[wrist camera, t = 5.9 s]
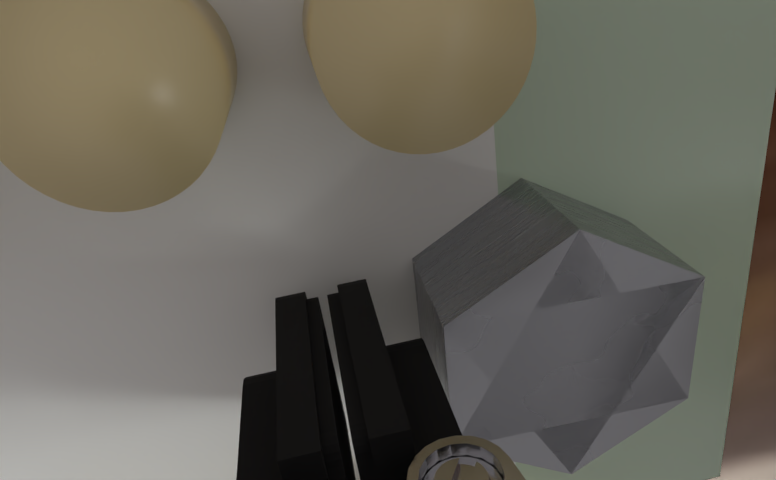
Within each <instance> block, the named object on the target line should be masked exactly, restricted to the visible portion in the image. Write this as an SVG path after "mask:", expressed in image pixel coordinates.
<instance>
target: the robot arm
mask: <svg viewBox="0 0 776 480" xmlns="http://www.w3.org/2000/svg"><path fill="white" fill-rule="evenodd" d="M337 287H338V293H334V294H329V295H327V298H328V304H329V310H330V315H331V321H332V327H333V333H334V339H335V345H336V351H337V357H338V363H339V369H340V375H341V380H342V386H343V392H344V398H345V404H346V410H347V416H348V422H349V428H350V433H351V438H352V444H353V449H354V453H355V458H356V463H357V467H358V472H359V476H360V480H526V479H525V478H524V476H523V475H522V474H521V472H520V471H519V469H518V468H517V467H516V465H515V464H514V462H513V461H512V460H511V458H510V457H509V456H508V455H507V454H506V453H505V452H504V451H503V450H502V449H501V448H500V447H499V446H497V445H495V444H494V443H492V442H490V441H488V440H486V439H483V438H478V437H474V436H462V433H461V431H460V428H459V426H458V423H457V421H456V419H455V416H454V414H453V411H452V409H451V406H450V404H449V401H448V399H447V396H446V394H445V391H444V389H443V386H442V384H441V382H440V379H439V377H438V374H437V372H436V369H435V367H434V364H433V362H432V359H431V357H430V354H429V352H428V350H427V347H426V345H425V342H424V340H423V339H422V338H418V339H414V340H409V341H405V342H400V343H396V344H392V345H387V346H386V345H385V341H384V338H383V335H382V331H381V328H380V325H379V321H378V318H377V315H376V311H375V308H374V305H373V301H372V298H371V295H370V291H369V288H368V285H367V281H366V279H362V280H357V281H353V282H348V283H343V284H339V285H337ZM275 325H276V371H271V372H267V373H262V374H258V375H254V376H249V377H245V378H244V380H243V388H242V403H241V418H240V433H239V448H238V463H237V477H236V480H356V478H355V472H354V466H353V459H352V453H351V447H350V441H349V435H348V429H347V423H346V418H345V413H344V409H343V404H342V400H341V395H340V391H339V386H338V382H337V378H336V373H335V369H334V364H333V360H332V356H331V351H330V347H329V342H328V338H327V333H326V329H325V325H324V320H323V316H322V311H321V307H320V303H319V299H318V297H315V298H310V299H307V296H306V293H305V292H301V293H296V294H292V295H287V296H282V297H277V298H275Z"/></svg>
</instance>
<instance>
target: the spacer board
mask: <svg viewBox="0 0 776 480" xmlns="http://www.w3.org/2000/svg"><path fill="white" fill-rule="evenodd" d="M775 89H776V0H0V480H236V477H237V463H238V448H239V433H240V418H241V403H242V388H243V380H244V378H245V377H249V376H254V375H258V374H262V373H267V372H271V371H276V325H275V298H277V297H282V296H287V295H292V294H296V293H301V292H305V293H306V296H307V299H310V298H315V297H318V299H319V303H320V307H321V311H322V316H323V320H324V325H325V329H326V333H327V338H328V342H329V347H330V351H331V356H332V360H333V364H334V369H335V373H336V378H337V382H338V386H339V391H340V395H341V400H342V404H343V409H344V413H345V418H346V423H347V429H348V435H349V441H350V447H351V453H352V459H353V466H354V472H355V478H356V480H360V476H359V472H358V467H357V463H356V458H355V453H354V449H353V444H352V438H351V433H350V428H349V422H348V416H347V410H346V404H345V398H344V392H343V386H342V380H341V375H340V369H339V363H338V357H337V351H336V345H335V339H334V333H333V327H332V321H331V315H330V310H329V304H328V298H327V295H329V294H334V293H338V287H337V285H339V284H343V283H348V282H353V281H357V280H362V279H366V281H367V285H368V288H369V291H370V295H371V298H372V301H373V305H374V308H375V311H376V315H377V318H378V321H379V325H380V328H381V331H382V335H383V338H384V341H385V345H386V346H387V345H392V344H396V343H400V342H405V341H409V340H414V339H418V338H420V330H419V320H418V310H417V301H416V291H415V281H414V272H413V262H412V258H414V257H415V256H416V255H418V254H419V253H420V252H422V251H423V250H424V249H426V248H427V247H428V246H430V245H431V244H432V243H434V242H435V241H437V240H438V239H439V238H441V237H442V236H443V235H445V234H446V233H447V232H449V231H450V230H451V229H453V228H454V227H456V226H457V225H458V224H460V223H461V222H462V221H464V220H465V219H466V218H468V217H469V216H470V215H472V214H473V213H474V212H476V211H477V210H479V209H480V208H481V207H483V206H484V205H485V204H487V203H488V202H489V201H491V200H492V199H493V198H495V197H496V196H497V195H499V194H500V193H502V192H503V191H504V190H506V189H507V188H508V187H510V186H511V185H512V184H514V183H515V182H516V181H518V180H519V179H521V178H523V179H525V180H528V181H530V182H533V183H535V184H538V185H540V186H543V187H545V188H548V189H550V190H553V191H556V192H558V193H561V194H563V195H566V196H568V197H571V198H573V199H576V200H578V201H581V202H583V203H586V204H588V205H591V206H593V207H596V208H598V209H601V210H603V211H606V212H608V213H611V214H613V215H616V216H618V217H621V218H623V219H626V220H628V221H630V222H631V223H632V224H634V225H635V226H636V227H638V228H639V229H640V230H642V231H643V232H645V233H646V234H647V235H649V236H650V237H651V238H653V239H654V240H655V241H657V242H658V243H660V244H661V245H662V246H664V247H665V248H666V249H668V250H669V251H670V252H672V253H673V254H675V255H676V256H677V257H679V258H680V259H681V260H683V261H684V262H685V263H687V264H688V265H690V266H691V267H692V268H694V269H695V270H696V271H698V272H699V273H701V274H702V275H703V276H705V282H704V289H703V296H702V303H701V310H700V317H699V324H698V331H697V339H696V346H695V353H694V360H693V367H692V374H691V381H690V388H689V395H688V399H686V400H685V401H683V402H681V403H680V404H678V405H677V406H675V407H674V408H672V409H671V410H669V411H668V412H666V413H665V414H663V415H662V416H660V417H658V418H657V419H655V420H654V421H652V422H651V423H649V424H648V425H646V426H645V427H643V428H642V429H640V430H639V431H637V432H636V433H634V434H632V435H631V436H629V437H628V438H626V439H625V440H623V441H622V442H620V443H619V444H617V445H616V446H614V447H613V448H611V449H610V450H608V451H606V452H605V453H603V454H602V455H600V456H599V457H597V458H596V459H594V460H593V461H591V462H590V463H588V464H587V465H585V466H583V467H582V468H580V469H579V470H577V471H576V472H574V473H573V474H568V473H563V472H559V471H554V470H550V469H545V468H541V467H536V466H532V465H527V464H523V463H518V462H514V461H513V462H514V464H515V465H516V467H517V468H518V469H519V471H520V472H521V474H522V475H523V476H524V478H525V479H526V480H707V479H711V478H715V477H719V476H720V471H721V464H722V457H723V450H724V443H725V436H726V429H727V422H728V415H729V408H730V401H731V394H732V388H733V381H734V374H735V367H736V360H737V353H738V346H739V339H740V332H741V325H742V318H743V311H744V304H745V297H746V290H747V284H748V277H749V270H750V263H751V256H752V249H753V242H754V235H755V228H756V221H757V214H758V207H759V200H760V193H761V186H762V179H763V173H764V166H765V159H766V152H767V145H768V138H769V131H770V124H771V117H772V110H773V103H774V96H775Z"/></svg>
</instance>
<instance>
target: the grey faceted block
mask: <svg viewBox="0 0 776 480" xmlns="http://www.w3.org/2000/svg"><path fill="white" fill-rule="evenodd" d="M412 262H413V272H414V281H415V291H416V301H417V310H418V320H419V330H420V338H422V339H423V340H424V342H425V345H426V347H427V350H428V352H429V354H430V357H431V359H432V362H433V364H434V367H435V369H436V372H437V374H438V377H439V379H440V382H441V384H442V386H443V389H444V391H445V394H446V396H447V399H448V401H449V404H450V406H451V409H452V411H453V414H454V416H455V419H456V421H457V423H458V426H459V428H460V431H461V433H462V436H474V437H478V438H483V439H486V440H488V441H490V442H492V443H494V444H495V445H497V446H499V447H500V448H501V449H502V450H503V451H504V452H505V453H506V454H507V455H508V456H509V457H510V458H511V460H512V461H514V462H518V463H523V464H527V465H532V466H536V467H541V468H545V469H550V470H554V471H559V472H563V473H568V474H573V473H574V472H576V471H577V470H579V469H580V468H582V467H583V466H585V465H587V464H588V463H590V462H591V461H593V460H594V459H596V458H597V457H599V456H600V455H602V454H603V453H605V452H606V451H608V450H610V449H611V448H613V447H614V446H616V445H617V444H619V443H620V442H622V441H623V440H625V439H626V438H628V437H629V436H631V435H632V434H634V433H636V432H637V431H639V430H640V429H642V428H643V427H645V426H646V425H648V424H649V423H651V422H652V421H654V420H655V419H657V418H658V417H660V416H662V415H663V414H665V413H666V412H668V411H669V410H671V409H672V408H674V407H675V406H677V405H678V404H680V403H681V402H683V401H685V400H686V399H688V395H689V388H690V381H691V374H692V367H693V360H694V353H695V346H696V339H697V331H698V324H699V317H700V310H701V303H702V296H703V289H704V282H705V276H703V275H702V274H701V273H699V272H698V271H696V270H695V269H694V268H692V267H691V266H690V265H688V264H687V263H685V262H684V261H683V260H681V259H680V258H679V257H677V256H676V255H675V254H673V253H672V252H670V251H669V250H668V249H666V248H665V247H664V246H662V245H661V244H660V243H658V242H657V241H655V240H654V239H653V238H651V237H650V236H649V235H647V234H646V233H645V232H643V231H642V230H640V229H639V228H638V227H636V226H635V225H634V224H632V223H631V222H630V221H628V220H626V219H623V218H621V217H618V216H616V215H613V214H611V213H608V212H606V211H603V210H601V209H598V208H596V207H593V206H591V205H588V204H586V203H583V202H581V201H578V200H576V199H573V198H571V197H568V196H566V195H563V194H561V193H558V192H556V191H553V190H550V189H548V188H545V187H543V186H540V185H538V184H535V183H533V182H530V181H528V180H525V179H523V178H521V179H519V180H518V181H516V182H515V183H514V184H512V185H511V186H510V187H508V188H507V189H506V190H504V191H503V192H502V193H500V194H499V195H497V196H496V197H495V198H493V199H492V200H491V201H489V202H488V203H487V204H485V205H484V206H483V207H481V208H480V209H479V210H477V211H476V212H474V213H473V214H472V215H470V216H469V217H468V218H466V219H465V220H464V221H462V222H461V223H460V224H458V225H457V226H456V227H454V228H453V229H451V230H450V231H449V232H447V233H446V234H445V235H443V236H442V237H441V238H439V239H438V240H437V241H435V242H434V243H432V244H431V245H430V246H428V247H427V248H426V249H424V250H423V251H422V252H420V253H419V254H418V255H416V256H415V257H414V258H412Z"/></svg>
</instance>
